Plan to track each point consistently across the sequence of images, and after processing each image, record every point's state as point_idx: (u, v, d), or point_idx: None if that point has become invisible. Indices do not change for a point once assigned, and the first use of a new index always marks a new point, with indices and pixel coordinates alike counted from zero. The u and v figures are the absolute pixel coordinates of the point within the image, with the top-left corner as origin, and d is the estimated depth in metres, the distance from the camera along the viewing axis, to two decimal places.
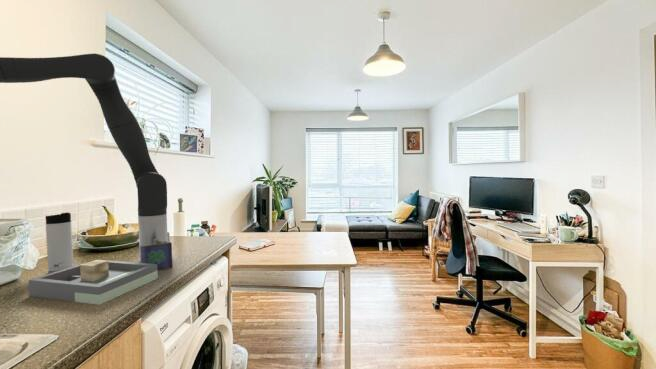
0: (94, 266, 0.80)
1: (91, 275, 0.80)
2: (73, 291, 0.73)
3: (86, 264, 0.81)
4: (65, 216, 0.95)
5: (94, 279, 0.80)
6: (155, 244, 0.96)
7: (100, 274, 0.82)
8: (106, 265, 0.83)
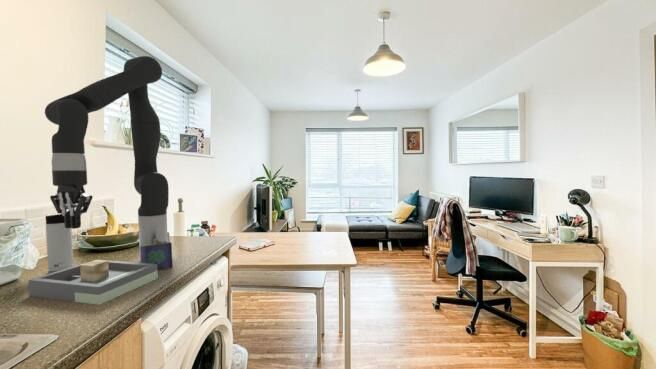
0: (94, 266, 0.80)
1: (91, 275, 0.80)
2: (73, 291, 0.73)
3: (86, 264, 0.81)
4: None
5: (94, 279, 0.80)
6: (155, 244, 0.96)
7: (100, 274, 0.82)
8: (106, 265, 0.83)
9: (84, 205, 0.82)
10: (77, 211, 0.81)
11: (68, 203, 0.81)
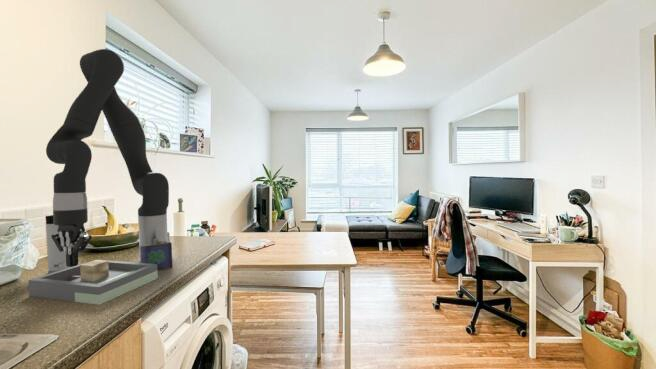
0: (94, 266, 0.80)
1: (91, 275, 0.80)
2: (73, 291, 0.73)
3: (86, 264, 0.81)
4: None
5: (94, 279, 0.80)
6: (155, 244, 0.96)
7: (100, 274, 0.82)
8: (106, 265, 0.83)
9: (82, 245, 0.82)
10: (75, 250, 0.82)
11: (67, 242, 0.82)
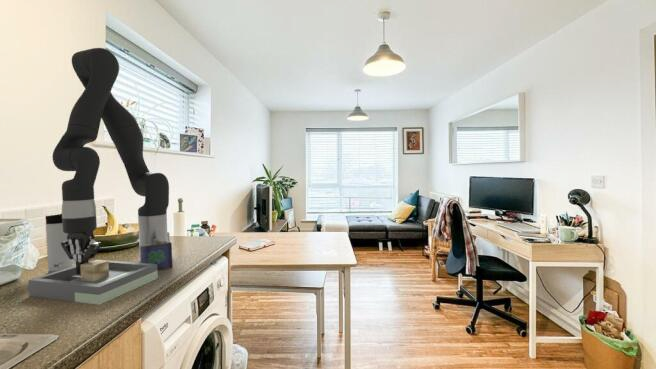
0: (94, 266, 0.80)
1: (91, 275, 0.80)
2: (73, 291, 0.73)
3: (86, 264, 0.81)
4: None
5: (94, 279, 0.80)
6: (155, 244, 0.96)
7: (100, 274, 0.82)
8: (106, 265, 0.83)
9: (92, 252, 0.82)
10: (85, 258, 0.81)
11: (77, 250, 0.81)
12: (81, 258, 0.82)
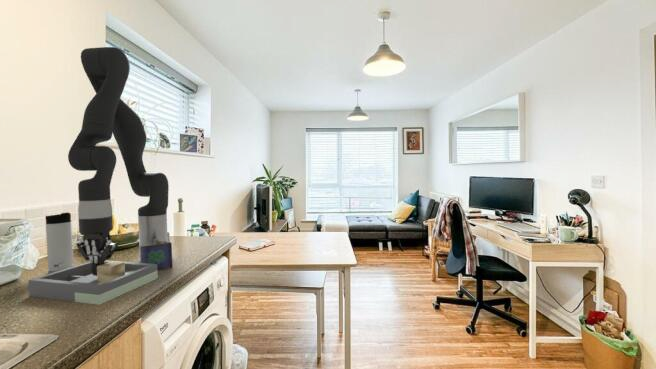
0: (111, 268, 0.79)
1: (107, 276, 0.78)
2: (73, 291, 0.73)
3: (103, 265, 0.79)
4: (65, 216, 0.95)
5: None
6: (155, 244, 0.96)
7: (117, 275, 0.80)
8: (122, 266, 0.82)
9: (109, 253, 0.81)
10: (101, 259, 0.80)
11: (93, 251, 0.80)
12: (97, 259, 0.81)
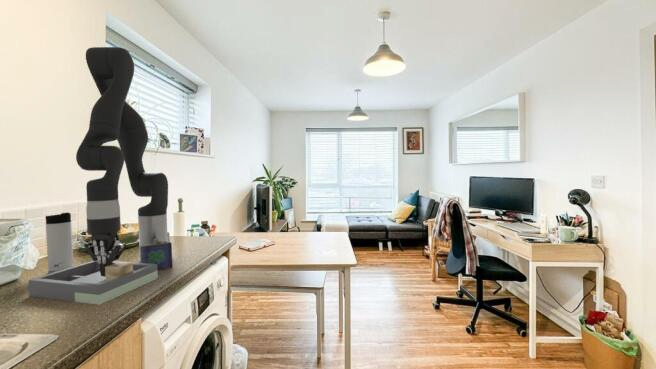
0: (119, 268, 0.78)
1: (116, 277, 0.78)
2: (73, 291, 0.73)
3: (111, 266, 0.79)
4: (65, 216, 0.95)
5: None
6: (155, 244, 0.96)
7: None
8: (131, 267, 0.81)
9: (117, 254, 0.80)
10: (110, 259, 0.79)
11: (102, 251, 0.79)
12: (106, 260, 0.80)
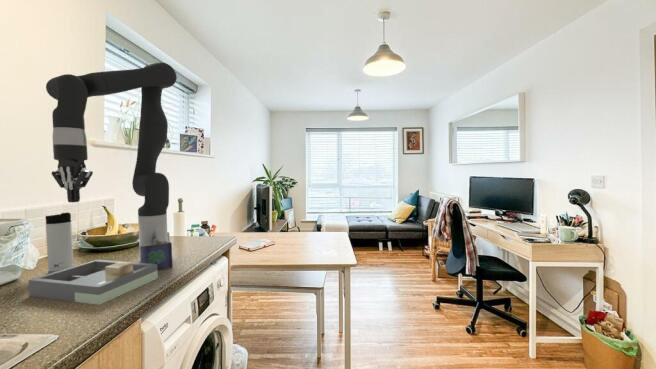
0: (119, 268, 0.78)
1: (116, 277, 0.78)
2: (73, 291, 0.73)
3: (111, 266, 0.79)
4: (65, 216, 0.95)
5: None
6: (155, 244, 0.96)
7: None
8: (131, 267, 0.81)
9: (84, 180, 0.84)
10: (76, 185, 0.83)
11: (68, 177, 0.83)
12: (72, 186, 0.84)
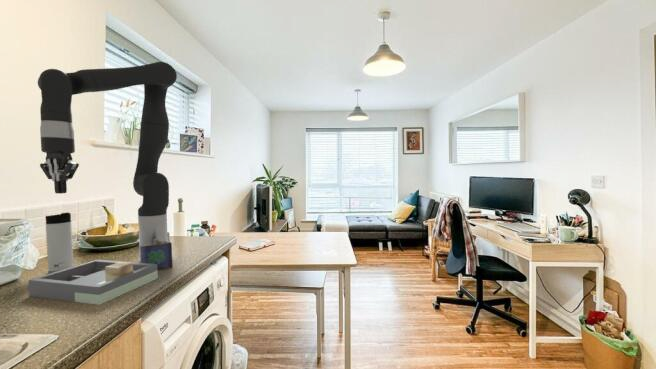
0: (119, 268, 0.78)
1: (116, 277, 0.78)
2: (73, 291, 0.73)
3: (111, 266, 0.79)
4: (65, 216, 0.95)
5: None
6: (155, 244, 0.96)
7: None
8: (131, 267, 0.81)
9: (70, 172, 0.86)
10: (63, 176, 0.86)
11: (55, 169, 0.86)
12: (59, 177, 0.86)
